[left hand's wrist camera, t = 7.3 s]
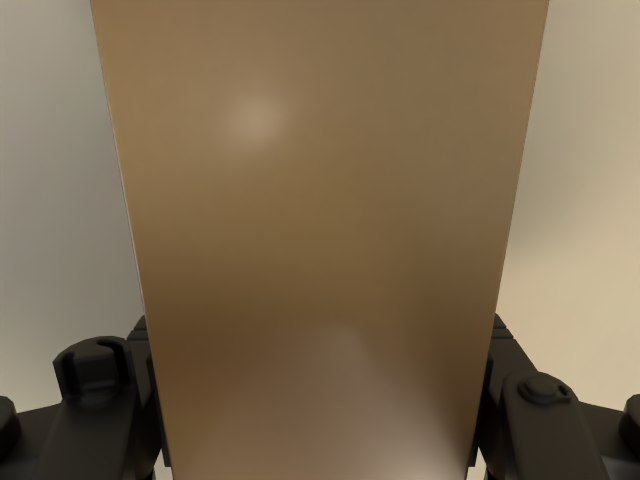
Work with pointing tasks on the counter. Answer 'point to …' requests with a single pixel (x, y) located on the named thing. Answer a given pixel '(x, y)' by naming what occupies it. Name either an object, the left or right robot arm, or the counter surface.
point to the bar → (319, 222)
